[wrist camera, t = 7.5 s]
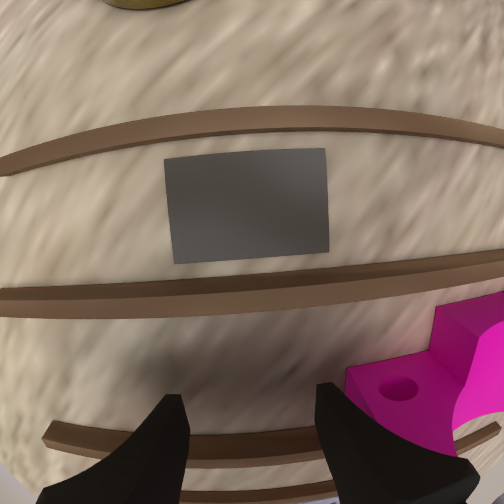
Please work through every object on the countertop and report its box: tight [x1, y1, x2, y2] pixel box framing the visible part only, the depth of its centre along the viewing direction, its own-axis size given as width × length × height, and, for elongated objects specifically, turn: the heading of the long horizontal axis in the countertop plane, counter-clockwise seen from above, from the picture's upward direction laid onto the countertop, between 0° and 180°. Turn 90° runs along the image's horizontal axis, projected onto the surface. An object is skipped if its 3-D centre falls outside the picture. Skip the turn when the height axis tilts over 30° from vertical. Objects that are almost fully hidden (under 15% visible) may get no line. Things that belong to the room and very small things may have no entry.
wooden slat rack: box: [0, 106, 504, 504], centre depth 11 cm, size 22×33×4 cm
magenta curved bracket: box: [345, 291, 504, 457], centre depth 10 cm, size 15×6×8 cm, turn 94°
